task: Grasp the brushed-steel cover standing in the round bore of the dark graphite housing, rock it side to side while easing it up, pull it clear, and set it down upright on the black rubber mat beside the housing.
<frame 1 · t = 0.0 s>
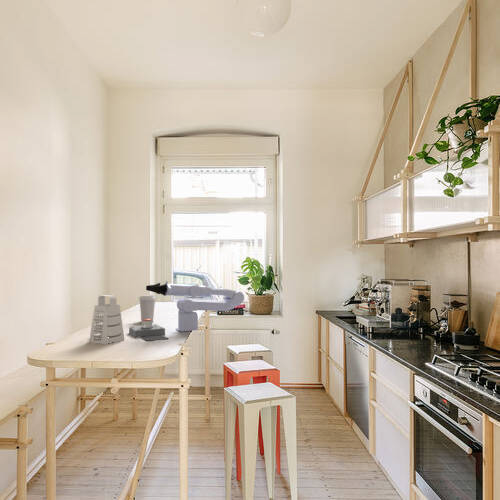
hand: (148, 288, 203), 22 cm above the table, tool horizontal, fingers open, 7 cm apart
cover: (146, 334, 202), resting in housing
mat: (154, 338, 191), on the table
grater: (107, 341, 185), on the table
housing: (146, 333, 202), on the table
coffee cup: (147, 321, 240), on the table
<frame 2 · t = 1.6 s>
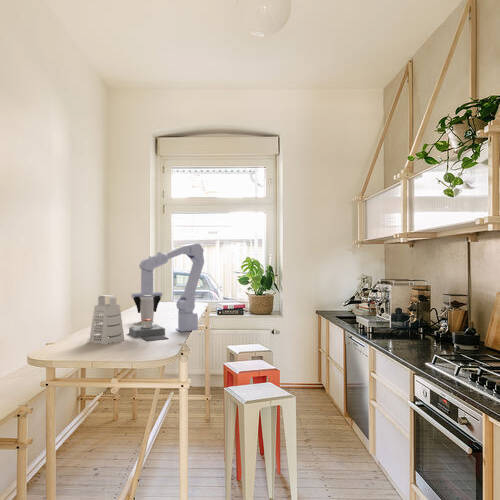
hand: (147, 312, 202), 10 cm above the table, tool pointing down, fingers open, 7 cm apart
nothing on the table moved.
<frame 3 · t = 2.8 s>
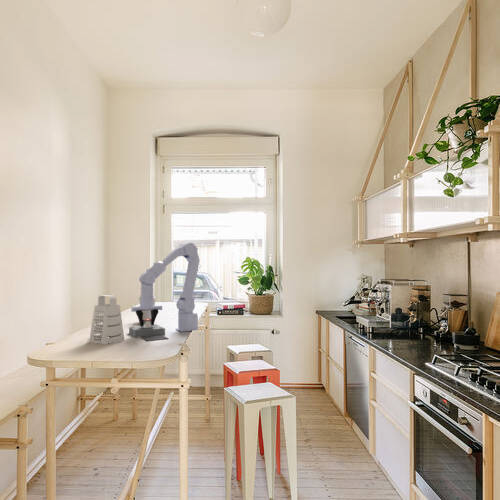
hand: (146, 325, 202), 4 cm above the table, tool pointing down, fingers closed on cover, 5 cm apart
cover: (146, 333, 202), resting in housing, touching gripper
everything else where it was.
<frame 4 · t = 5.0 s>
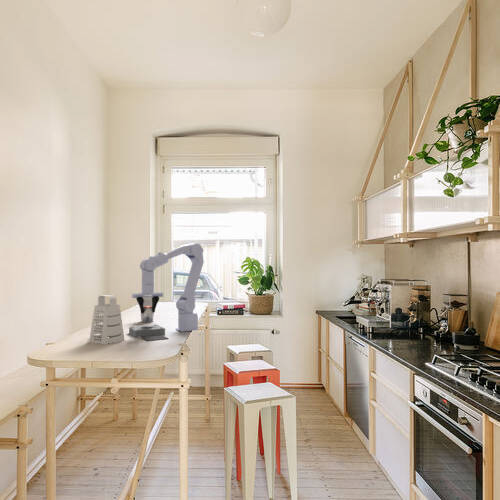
hand: (147, 312, 201), 10 cm above the table, tool pointing down, fingers closed on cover, 5 cm apart
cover: (147, 321, 201), point 6 cm above the table, touching gripper
everything else where it was.
when the fingers open (5 cm above the table, at t = 7.1 s): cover stays where it is, resting on mat.
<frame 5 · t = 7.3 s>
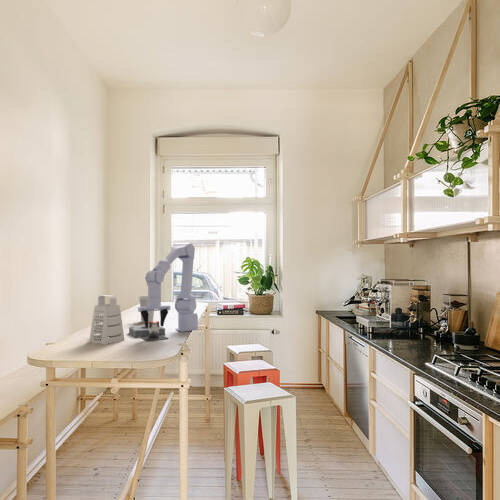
hand: (154, 326, 191), 5 cm above the table, tool pointing down, fingers open, 6 cm apart
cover: (153, 337, 192), resting on mat
everything else where it was.
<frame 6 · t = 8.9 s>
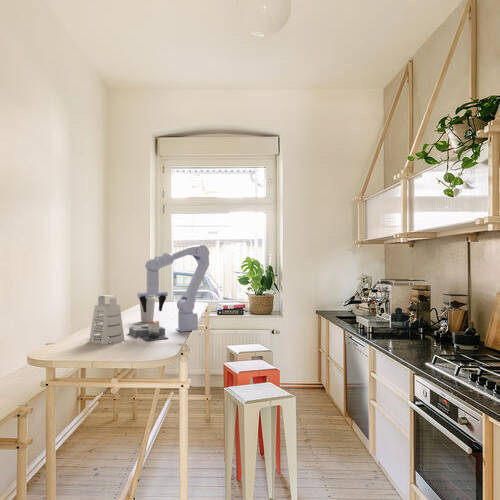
hand: (152, 311, 204), 10 cm above the table, tool pointing down, fingers open, 7 cm apart
nothing on the table moved.
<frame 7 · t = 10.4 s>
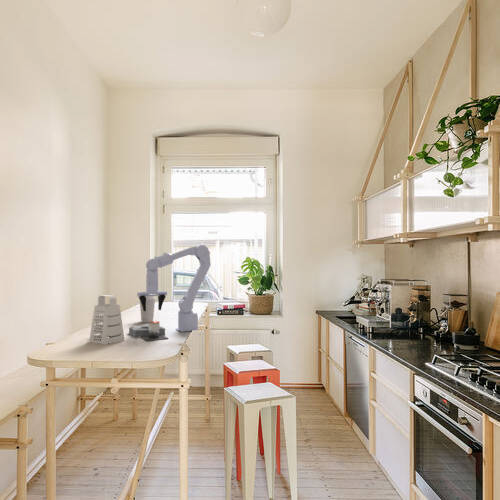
hand: (152, 310, 208), 10 cm above the table, tool pointing down, fingers open, 7 cm apart
nothing on the table moved.
at the end: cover inside the target area on the mat (0.9 cm from its centre), point 0.3 cm above the mat's base; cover tilted 1°; the gripper is holding nothing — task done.
